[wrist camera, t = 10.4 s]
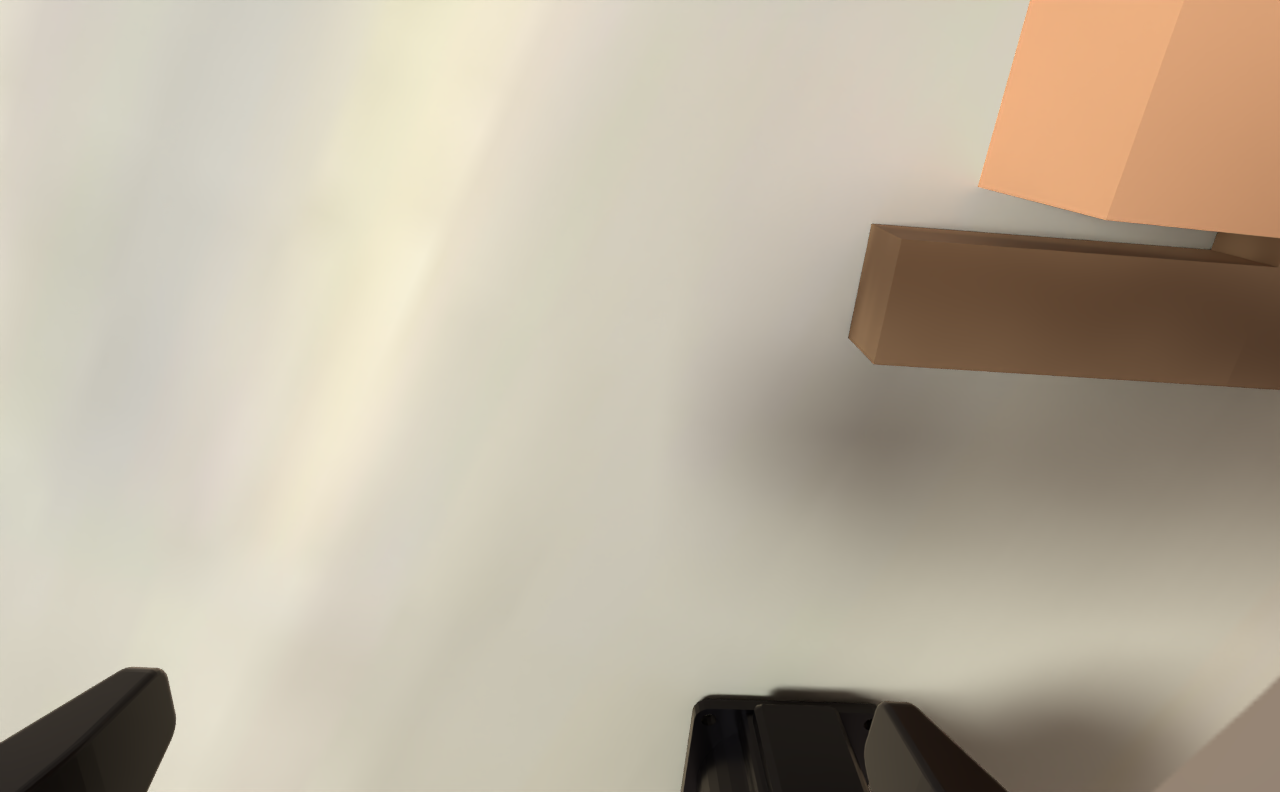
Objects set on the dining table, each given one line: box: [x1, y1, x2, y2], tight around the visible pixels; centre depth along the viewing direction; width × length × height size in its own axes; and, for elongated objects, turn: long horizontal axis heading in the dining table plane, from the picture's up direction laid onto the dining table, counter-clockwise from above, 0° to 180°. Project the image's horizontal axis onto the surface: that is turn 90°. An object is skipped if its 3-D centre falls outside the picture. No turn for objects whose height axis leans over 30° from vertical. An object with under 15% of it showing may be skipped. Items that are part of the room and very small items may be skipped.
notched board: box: [848, 224, 1280, 390], centre depth 16 cm, size 14×13×2 cm
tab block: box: [978, 0, 1280, 238], centre depth 14 cm, size 6×4×5 cm, turn 174°
